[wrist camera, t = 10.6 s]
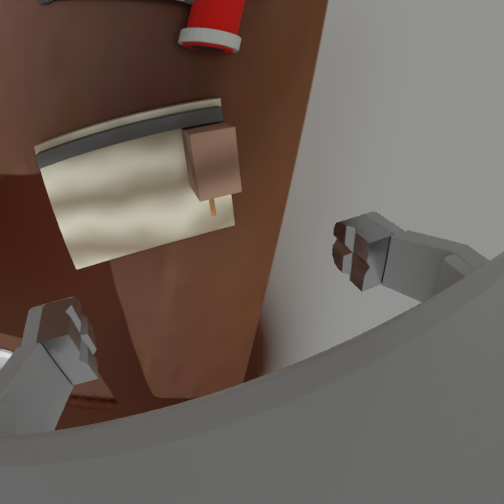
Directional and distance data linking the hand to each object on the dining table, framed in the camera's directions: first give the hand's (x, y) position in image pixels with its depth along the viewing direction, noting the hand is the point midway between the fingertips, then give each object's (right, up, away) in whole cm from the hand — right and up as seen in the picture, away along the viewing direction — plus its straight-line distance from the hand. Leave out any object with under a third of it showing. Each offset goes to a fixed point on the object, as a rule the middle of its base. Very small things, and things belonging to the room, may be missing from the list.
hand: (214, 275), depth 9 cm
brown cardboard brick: (-4, +12, +25) cm, 28 cm away
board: (-12, +9, +26) cm, 30 cm away
